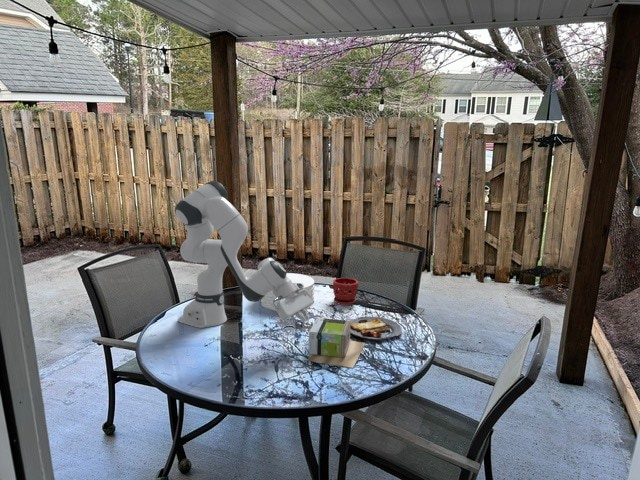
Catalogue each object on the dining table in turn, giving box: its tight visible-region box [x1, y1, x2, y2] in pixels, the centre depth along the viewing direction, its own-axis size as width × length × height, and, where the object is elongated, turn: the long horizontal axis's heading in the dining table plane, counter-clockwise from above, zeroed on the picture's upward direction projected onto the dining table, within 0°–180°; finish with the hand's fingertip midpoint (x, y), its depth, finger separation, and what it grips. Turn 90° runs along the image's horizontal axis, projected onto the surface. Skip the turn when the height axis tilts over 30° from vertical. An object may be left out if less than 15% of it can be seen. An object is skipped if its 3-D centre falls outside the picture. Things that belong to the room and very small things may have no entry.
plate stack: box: [260, 272, 315, 311], centre depth 232 cm, size 28×28×12 cm
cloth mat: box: [307, 340, 366, 369], centre depth 177 cm, size 18×22×1 cm
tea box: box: [308, 317, 351, 358], centre depth 178 cm, size 15×10×15 cm
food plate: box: [349, 315, 403, 340], centre depth 197 cm, size 25×23×4 cm
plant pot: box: [332, 277, 359, 306], centre depth 231 cm, size 13×13×12 cm
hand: (306, 320), depth 176 cm, fingers closed
